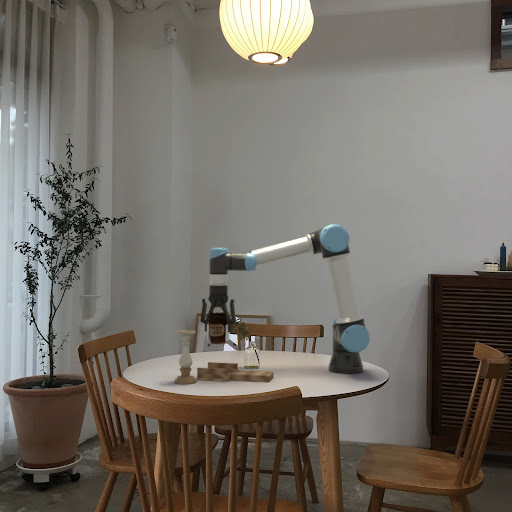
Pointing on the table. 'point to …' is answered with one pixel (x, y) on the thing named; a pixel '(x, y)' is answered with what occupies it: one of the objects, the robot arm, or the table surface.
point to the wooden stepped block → (232, 373)
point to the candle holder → (185, 359)
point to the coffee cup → (217, 328)
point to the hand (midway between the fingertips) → (218, 339)
